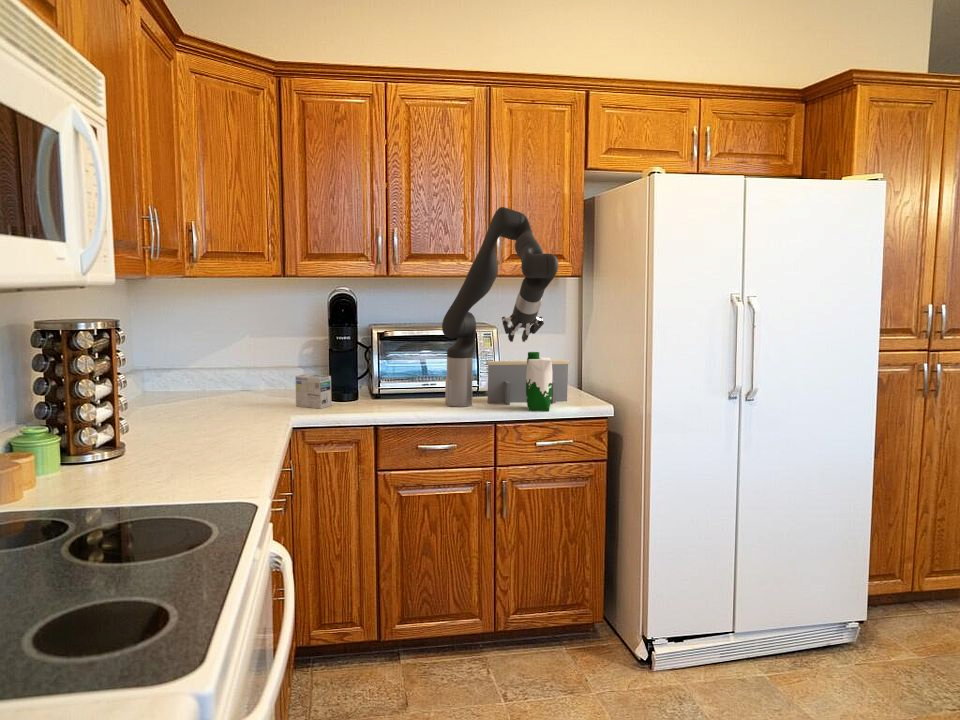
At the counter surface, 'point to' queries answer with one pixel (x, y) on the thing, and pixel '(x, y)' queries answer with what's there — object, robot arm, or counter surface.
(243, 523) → the counter surface
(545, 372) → the soya milk
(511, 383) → the grey backboard
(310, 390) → the light bulb box
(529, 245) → the robot arm
